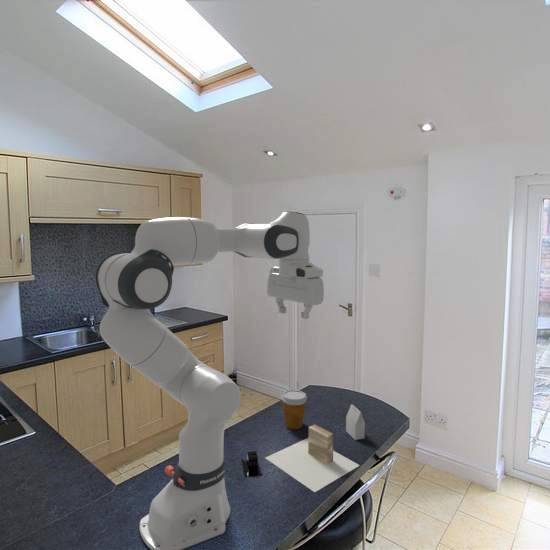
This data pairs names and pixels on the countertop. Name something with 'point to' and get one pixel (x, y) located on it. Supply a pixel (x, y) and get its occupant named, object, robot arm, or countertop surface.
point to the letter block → (320, 443)
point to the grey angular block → (355, 423)
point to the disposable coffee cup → (294, 408)
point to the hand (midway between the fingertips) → (293, 315)
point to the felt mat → (310, 466)
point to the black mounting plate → (251, 465)
